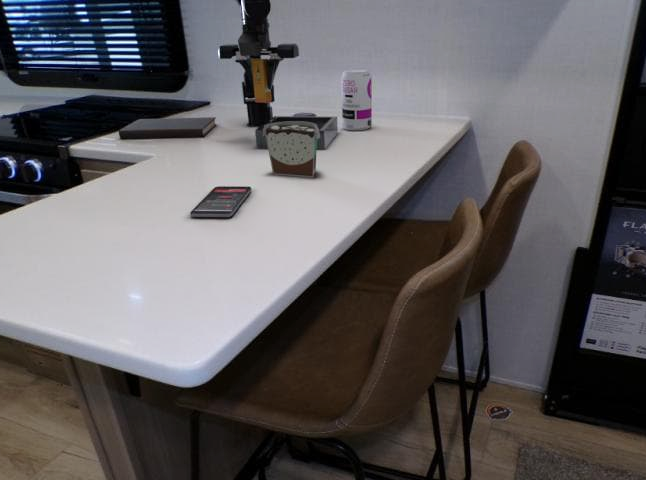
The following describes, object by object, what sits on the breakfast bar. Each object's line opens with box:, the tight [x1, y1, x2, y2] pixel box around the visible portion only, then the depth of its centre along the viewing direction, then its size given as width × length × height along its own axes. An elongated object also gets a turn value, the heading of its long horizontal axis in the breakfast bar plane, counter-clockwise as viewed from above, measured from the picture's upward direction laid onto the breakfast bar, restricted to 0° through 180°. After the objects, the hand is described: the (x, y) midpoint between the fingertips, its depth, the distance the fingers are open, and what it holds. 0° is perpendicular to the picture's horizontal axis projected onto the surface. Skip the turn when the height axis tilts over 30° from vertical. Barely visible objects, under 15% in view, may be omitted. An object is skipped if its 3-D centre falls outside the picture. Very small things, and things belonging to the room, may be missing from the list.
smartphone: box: [189, 185, 252, 219], centre depth 95 cm, size 7×1×15 cm
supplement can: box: [340, 68, 373, 132], centre depth 145 cm, size 8×8×15 cm
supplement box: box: [252, 58, 272, 103], centre depth 130 cm, size 3×3×10 cm
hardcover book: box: [118, 116, 218, 140], centre depth 149 cm, size 16×23×2 cm
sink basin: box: [254, 115, 339, 150], centre depth 136 cm, size 17×17×4 cm
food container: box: [263, 121, 320, 179], centre depth 110 cm, size 12×6×10 cm, turn 71°
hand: (262, 89), depth 131 cm, fingers closed on supplement box, 4 cm apart
